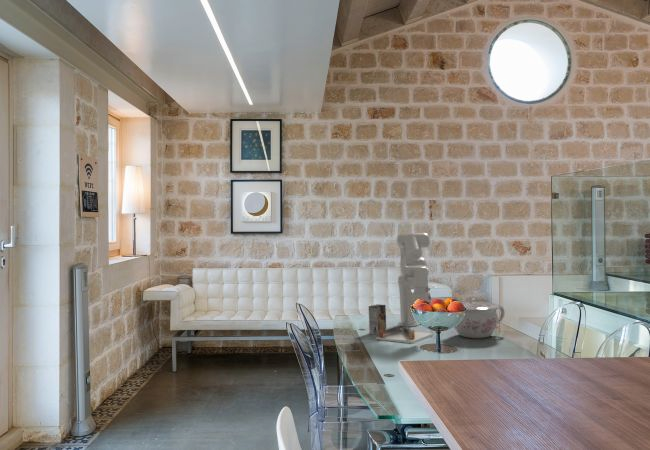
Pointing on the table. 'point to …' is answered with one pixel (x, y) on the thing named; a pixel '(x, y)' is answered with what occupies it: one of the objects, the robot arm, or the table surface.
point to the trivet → (406, 337)
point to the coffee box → (377, 318)
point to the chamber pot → (479, 319)
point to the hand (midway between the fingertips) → (422, 324)
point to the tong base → (391, 330)
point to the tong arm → (409, 332)
